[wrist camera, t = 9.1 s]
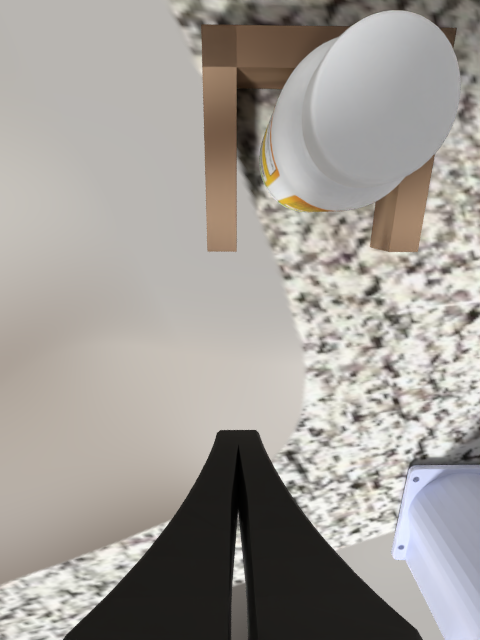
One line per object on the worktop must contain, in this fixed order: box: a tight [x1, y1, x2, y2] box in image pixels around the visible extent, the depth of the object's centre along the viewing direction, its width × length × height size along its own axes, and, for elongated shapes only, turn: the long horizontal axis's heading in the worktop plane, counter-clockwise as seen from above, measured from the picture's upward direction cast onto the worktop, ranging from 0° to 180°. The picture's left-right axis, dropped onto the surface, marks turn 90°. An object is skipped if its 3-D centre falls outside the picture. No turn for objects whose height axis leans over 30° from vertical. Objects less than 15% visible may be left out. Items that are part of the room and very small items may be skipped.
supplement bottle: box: [259, 10, 461, 212], centre depth 13 cm, size 5×5×10 cm
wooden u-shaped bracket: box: [201, 24, 457, 252], centre depth 16 cm, size 10×11×2 cm
